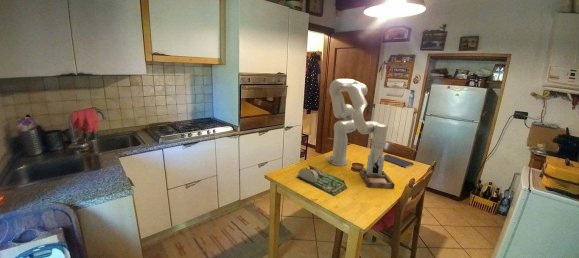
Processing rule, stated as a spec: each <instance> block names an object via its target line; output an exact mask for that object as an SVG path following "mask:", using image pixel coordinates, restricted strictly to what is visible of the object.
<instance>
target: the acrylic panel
mask: <svg viewBox="0 0 579 258" xmlns="http://www.w3.org/2000/svg"><path fill="white" fill-rule="evenodd" d="M366 162H367V163H366V168H365V170H366V174H370V175H382V171H384V170H383V169H384V163H385V161H384V155H383V157H382V162H381V163H380V166H379V170H378V173H373V167H374V163H373V162H372V155H370V154H367V161H366Z"/></svg>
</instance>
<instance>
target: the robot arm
mask: <svg viewBox="0 0 579 258" xmlns="http://www.w3.org/2000/svg"><path fill="white" fill-rule="evenodd" d="M328 91H329V96H330V99H331V104H332V110H333V115H334V117H335V118H337V119H340V120H338V121H336V122H335V123H334V125H333V133H334V135H333V136H334V137H333V146H332V154H331V155H330V156H328V155H327V156H325V160H328V161H329V163H330V164H332V165H335V166H338V167H339V166H341V167H342V166H343V167H344V166H347V165H348V160H346V158H347V151H348V150H347V149H348V139H349V138H348V135H347V134H348V133H352V132H355V131H356V130H357V131H358V133H360V134H361V135H368V134H372V138H371V146H370V152H369V155H372V162H373V163H374V167H373V173H378V170H379V166H380V163H381V162H382V157H383V156H384V155H383V154H384V148H385V147H386V146H385V145H386V137H387V132H388V126H387V124H385V123H379V122H377V121H375V120H368V121H366V120H365V117H364V110H365V109H366V107H368V102H367V99H366V98H365V96H366V95H367V93H368V91H369V90H368V87H367V85H366V84H365V83H362V82H360V81H357V80H356V79H353V78H336V79H334V80H332V81H331V83H330V85H329V90H328ZM342 92H347V93H348V96H349V99H350V101H351V103H352V104H349V103H346V102H345V97H344V95H343V94H342Z"/></svg>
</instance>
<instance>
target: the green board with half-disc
mask: <svg viewBox="0 0 579 258" xmlns="http://www.w3.org/2000/svg"><path fill="white" fill-rule="evenodd" d="M308 167H309V168H308ZM308 167H302V168H301V169H300V170H299V171H298V174H297V176H296V177H295V178H296V179H298V180H300V181H302V182H304V183H305V184H309V185H310V186H312V187H314V188H316V189H318V190H320V191H323V193H324V192H325V193H326V194H328V195H331V196H332V197H335V196H336V195H338V194H340V193H343V192H344V191H345V190H347V189H348V187H347V185H346V182H345V180H344V179H342V178H340V177H337V176H335V175H333V174H330V173H327V172H325V171H323V170H320V169H318V167H315V166H312V165H310V164H308Z"/></svg>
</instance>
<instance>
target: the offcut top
mask: <svg viewBox="0 0 579 258" xmlns="http://www.w3.org/2000/svg"><path fill="white" fill-rule="evenodd" d="M368 179H369V181H370V182H383V183H387V181H386V180H385V179H382V178H368Z"/></svg>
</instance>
